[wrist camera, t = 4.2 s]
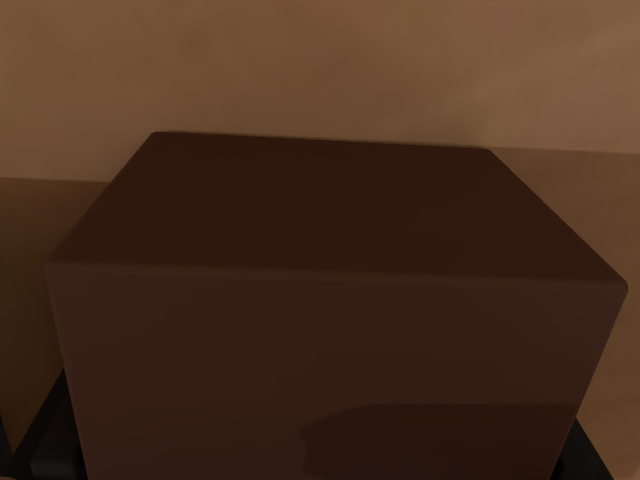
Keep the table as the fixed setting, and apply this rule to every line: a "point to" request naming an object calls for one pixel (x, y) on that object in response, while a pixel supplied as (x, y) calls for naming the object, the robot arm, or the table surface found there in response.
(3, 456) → the dark grey rectangular block
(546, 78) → the table surface
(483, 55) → the table surface
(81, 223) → the brown block
